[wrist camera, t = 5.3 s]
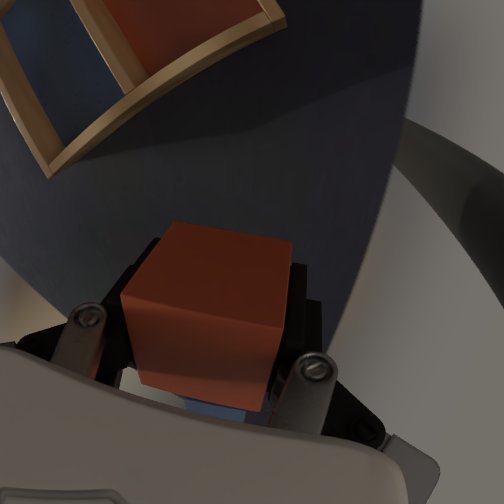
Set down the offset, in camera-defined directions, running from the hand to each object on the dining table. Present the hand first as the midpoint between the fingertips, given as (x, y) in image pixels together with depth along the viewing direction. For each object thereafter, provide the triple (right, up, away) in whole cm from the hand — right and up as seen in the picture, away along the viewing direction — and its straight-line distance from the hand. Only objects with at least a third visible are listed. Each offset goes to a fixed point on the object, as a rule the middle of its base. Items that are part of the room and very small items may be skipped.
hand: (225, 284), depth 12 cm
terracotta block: (0, 0, 0) cm, 0 cm away
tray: (-7, +14, -1) cm, 16 cm away
